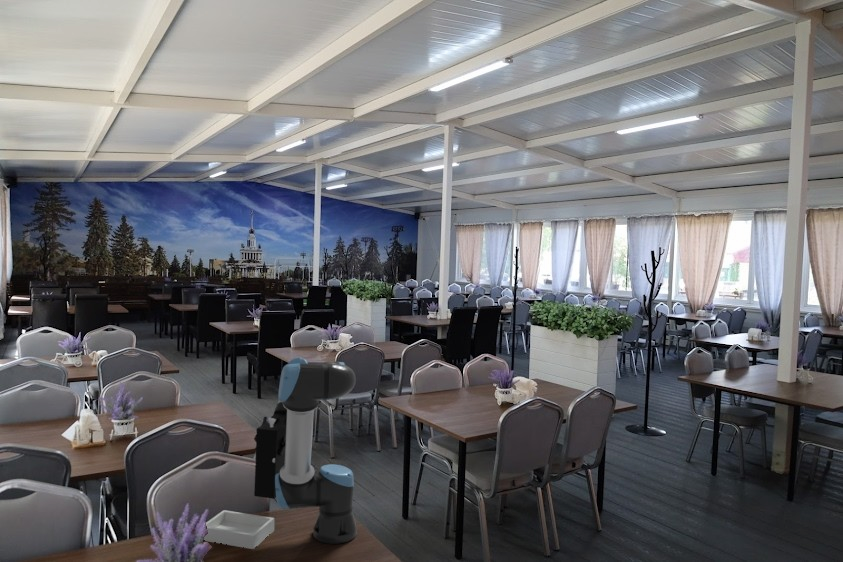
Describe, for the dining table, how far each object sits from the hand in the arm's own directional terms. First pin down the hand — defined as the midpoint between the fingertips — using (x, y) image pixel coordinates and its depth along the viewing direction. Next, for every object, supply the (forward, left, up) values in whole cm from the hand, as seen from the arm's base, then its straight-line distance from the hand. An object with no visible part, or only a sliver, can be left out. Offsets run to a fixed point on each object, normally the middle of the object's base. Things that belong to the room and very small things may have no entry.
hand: (264, 461), depth 212 cm
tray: (+4, +11, -23) cm, 25 cm away
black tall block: (0, -3, -13) cm, 14 cm away
